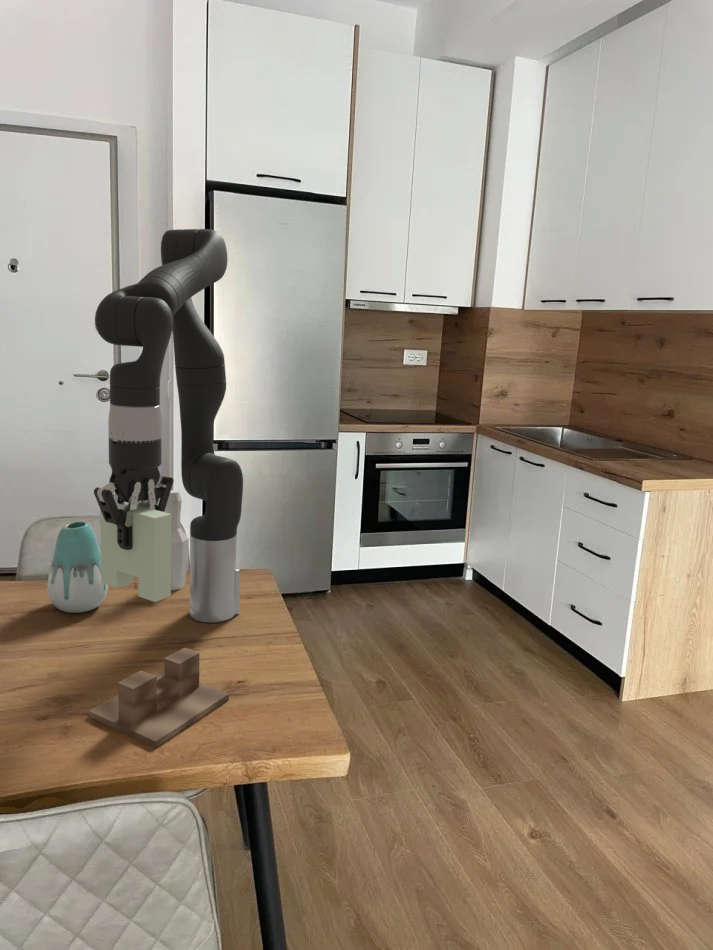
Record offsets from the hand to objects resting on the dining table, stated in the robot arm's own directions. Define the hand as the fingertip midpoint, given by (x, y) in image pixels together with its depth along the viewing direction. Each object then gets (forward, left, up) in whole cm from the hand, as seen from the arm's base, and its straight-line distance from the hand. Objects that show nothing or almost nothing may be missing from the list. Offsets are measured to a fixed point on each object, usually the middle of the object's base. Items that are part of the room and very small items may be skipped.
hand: (135, 545), depth 109 cm
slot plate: (-2, +5, -26) cm, 26 cm away
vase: (-5, -40, -26) cm, 48 cm away
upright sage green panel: (0, 0, -7) cm, 7 cm away
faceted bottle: (-26, -40, -26) cm, 54 cm away
